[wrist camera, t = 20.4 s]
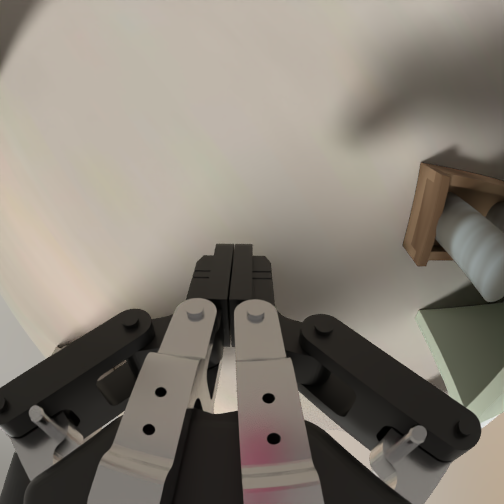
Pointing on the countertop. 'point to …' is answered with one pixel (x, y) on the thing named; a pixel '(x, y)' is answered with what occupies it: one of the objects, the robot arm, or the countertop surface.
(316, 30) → the countertop surface
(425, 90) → the countertop surface
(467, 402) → the sage green storage bin
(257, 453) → the robot arm
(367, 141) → the countertop surface
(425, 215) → the tray
